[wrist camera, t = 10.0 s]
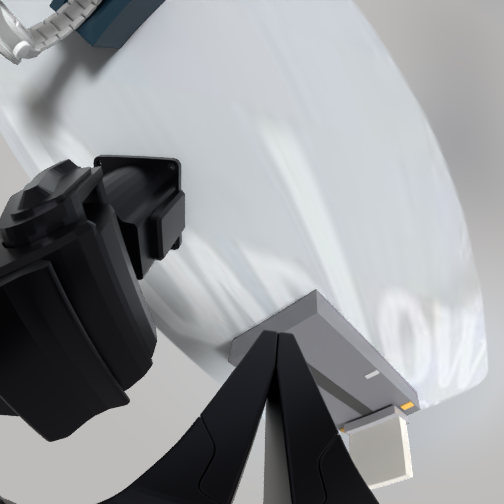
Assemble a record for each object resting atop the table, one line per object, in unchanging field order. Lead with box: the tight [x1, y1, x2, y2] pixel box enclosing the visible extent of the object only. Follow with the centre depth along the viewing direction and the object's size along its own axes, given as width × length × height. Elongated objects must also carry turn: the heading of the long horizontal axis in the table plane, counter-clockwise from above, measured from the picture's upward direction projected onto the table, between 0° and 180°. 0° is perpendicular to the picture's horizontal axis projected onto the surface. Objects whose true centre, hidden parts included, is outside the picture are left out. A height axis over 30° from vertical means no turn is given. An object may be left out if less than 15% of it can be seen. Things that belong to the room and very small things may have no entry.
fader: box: [344, 405, 413, 489], centre depth 24 cm, size 4×6×8 cm, turn 135°
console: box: [228, 290, 420, 433], centre depth 26 cm, size 20×9×3 cm, turn 45°
